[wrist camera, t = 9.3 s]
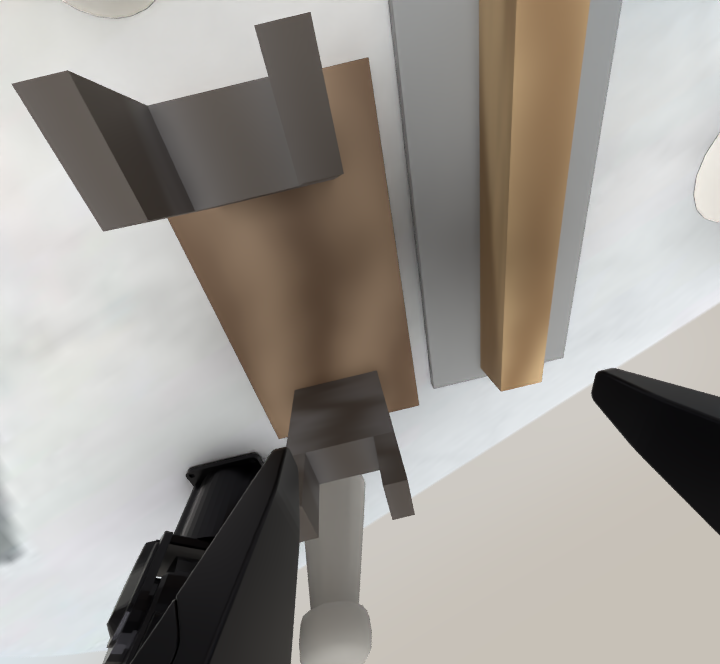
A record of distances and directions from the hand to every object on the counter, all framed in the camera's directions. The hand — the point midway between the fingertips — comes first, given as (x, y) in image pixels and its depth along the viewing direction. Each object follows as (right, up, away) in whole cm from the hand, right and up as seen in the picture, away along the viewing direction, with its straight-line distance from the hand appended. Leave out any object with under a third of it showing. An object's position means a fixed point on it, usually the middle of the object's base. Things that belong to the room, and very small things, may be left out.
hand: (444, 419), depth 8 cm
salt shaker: (-5, -10, +19) cm, 23 cm away
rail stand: (-6, +5, +11) cm, 13 cm away
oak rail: (+7, +9, +10) cm, 15 cm away
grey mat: (+7, +10, +10) cm, 15 cm away
